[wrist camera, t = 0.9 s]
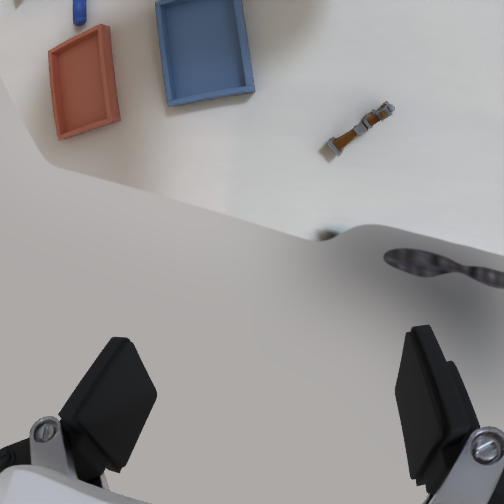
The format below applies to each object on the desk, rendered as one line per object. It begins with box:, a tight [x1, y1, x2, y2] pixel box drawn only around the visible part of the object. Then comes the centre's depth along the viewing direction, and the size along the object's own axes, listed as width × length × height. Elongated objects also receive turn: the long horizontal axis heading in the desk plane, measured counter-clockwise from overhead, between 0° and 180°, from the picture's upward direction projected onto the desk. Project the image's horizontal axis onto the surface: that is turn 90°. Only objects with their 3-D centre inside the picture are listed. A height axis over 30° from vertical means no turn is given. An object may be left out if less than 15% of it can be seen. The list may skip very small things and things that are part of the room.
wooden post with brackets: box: [327, 101, 395, 157], centre depth 29 cm, size 2×8×4 cm, turn 133°
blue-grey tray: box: [155, 0, 255, 106], centre depth 28 cm, size 13×9×2 cm
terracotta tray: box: [48, 24, 120, 140], centre depth 31 cm, size 13×9×2 cm
